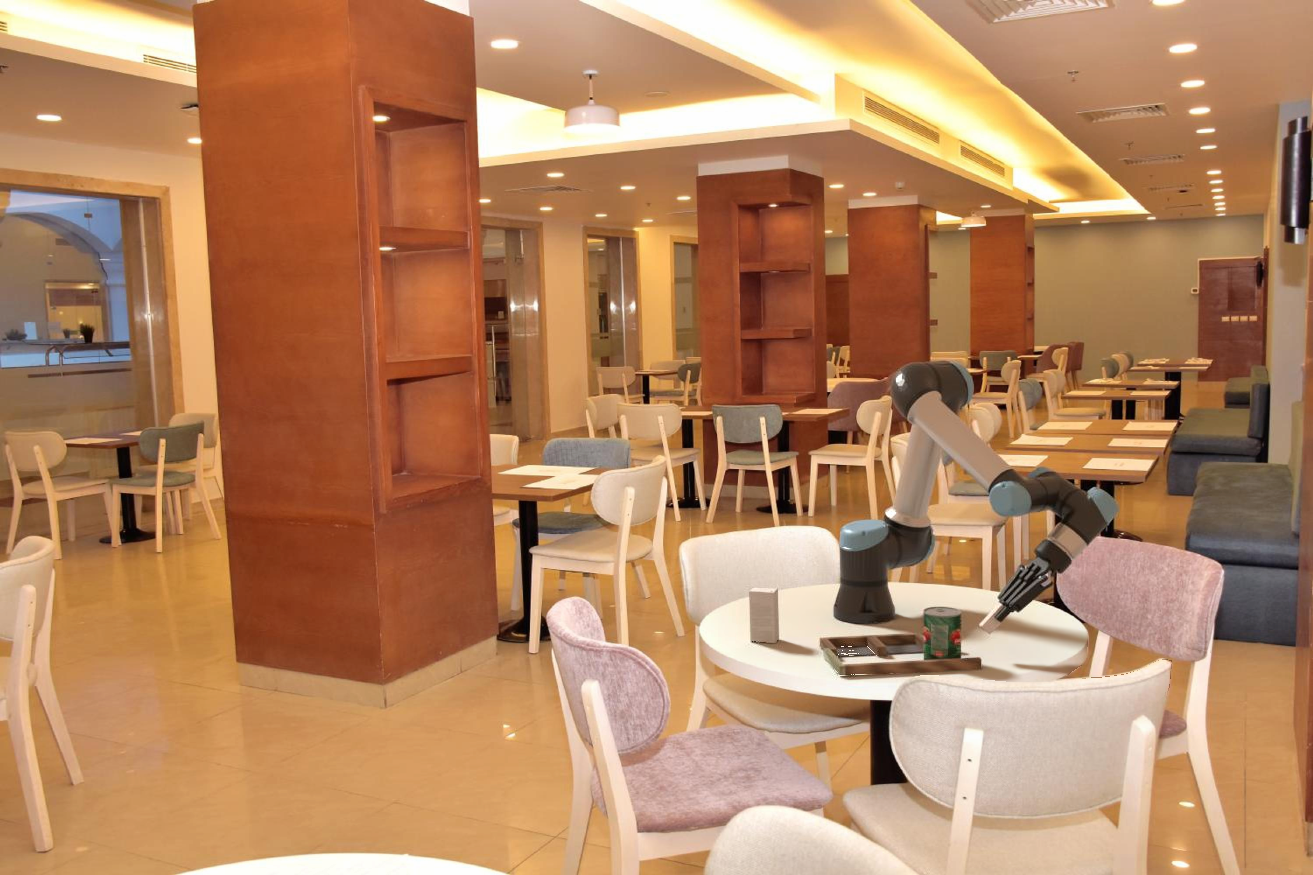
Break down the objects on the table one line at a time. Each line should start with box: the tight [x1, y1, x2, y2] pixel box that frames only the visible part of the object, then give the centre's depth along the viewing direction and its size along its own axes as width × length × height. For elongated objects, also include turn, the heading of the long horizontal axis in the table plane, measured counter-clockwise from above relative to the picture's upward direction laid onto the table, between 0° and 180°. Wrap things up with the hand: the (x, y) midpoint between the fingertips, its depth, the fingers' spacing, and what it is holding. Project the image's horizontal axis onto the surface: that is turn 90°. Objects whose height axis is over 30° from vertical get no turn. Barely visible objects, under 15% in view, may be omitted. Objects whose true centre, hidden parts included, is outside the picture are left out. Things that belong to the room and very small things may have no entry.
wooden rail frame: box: [819, 632, 982, 675], centre depth 242 cm, size 30×22×2 cm
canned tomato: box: [922, 606, 962, 660], centre depth 238 cm, size 8×8×11 cm
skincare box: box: [748, 587, 780, 644], centre depth 257 cm, size 6×4×12 cm
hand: (984, 629), depth 240 cm, fingers closed
